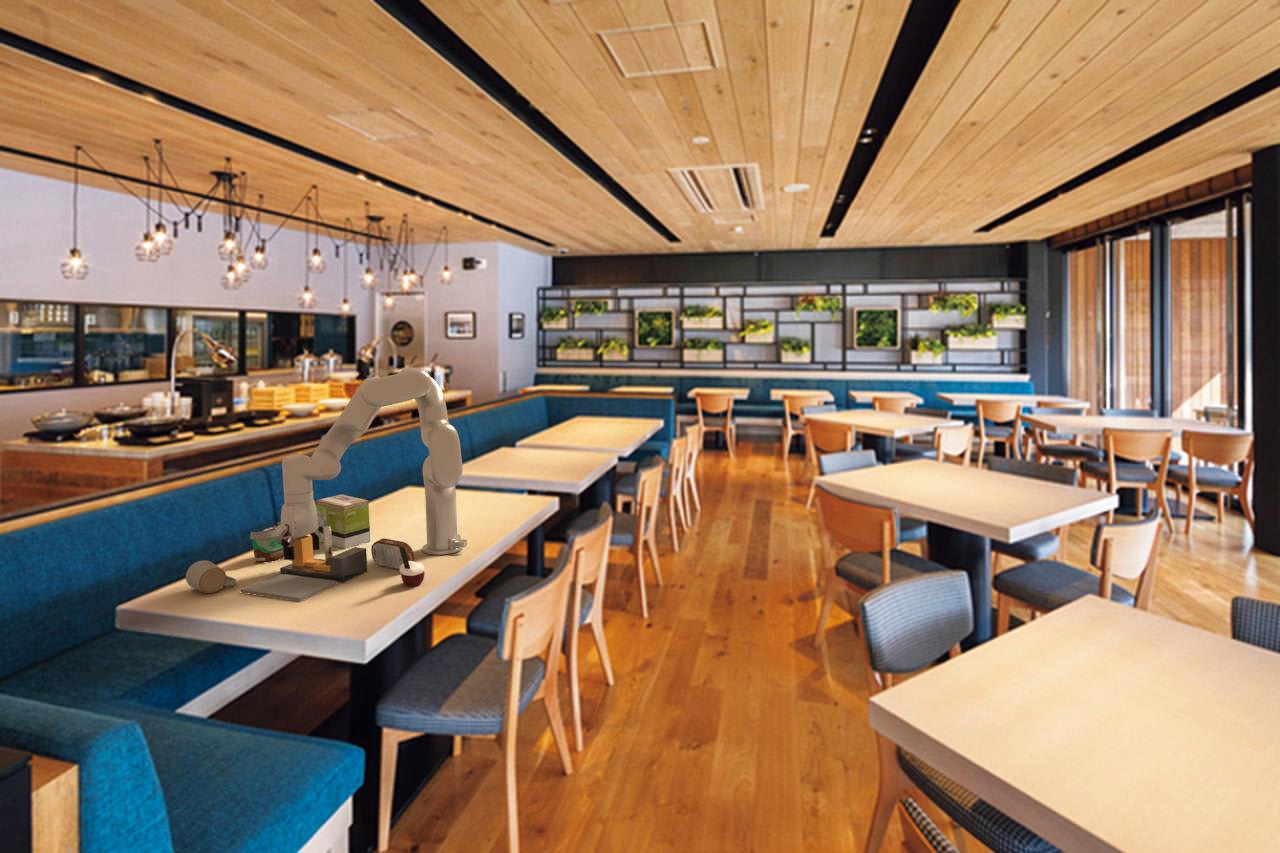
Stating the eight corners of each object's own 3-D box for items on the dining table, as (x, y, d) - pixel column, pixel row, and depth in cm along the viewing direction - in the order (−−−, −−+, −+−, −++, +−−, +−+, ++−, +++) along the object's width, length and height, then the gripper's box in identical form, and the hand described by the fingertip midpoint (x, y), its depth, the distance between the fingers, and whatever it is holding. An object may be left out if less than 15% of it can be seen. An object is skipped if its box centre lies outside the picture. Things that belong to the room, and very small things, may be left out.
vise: (367, 571, 200) (365, 525, 198) (343, 583, 190) (340, 534, 188) (306, 563, 206) (304, 519, 204) (280, 574, 197) (277, 527, 195)
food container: (269, 565, 204) (267, 533, 203) (251, 564, 206) (249, 532, 204) (297, 553, 216) (295, 522, 215) (280, 552, 218) (278, 521, 216)
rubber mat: (336, 584, 189) (336, 580, 189) (300, 601, 177) (300, 597, 177) (279, 576, 195) (278, 573, 195) (240, 592, 183) (240, 589, 183)
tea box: (317, 542, 228) (314, 499, 226) (344, 535, 237) (341, 493, 235) (345, 549, 220) (342, 505, 218) (371, 541, 229) (369, 499, 227)
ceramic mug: (200, 598, 179) (198, 569, 178) (186, 591, 184) (184, 563, 183) (242, 586, 188) (240, 559, 187) (227, 580, 192) (226, 554, 192)
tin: (415, 570, 201) (414, 542, 200) (408, 573, 198) (406, 545, 197) (378, 562, 208) (376, 536, 206) (370, 566, 205) (368, 538, 204)
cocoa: (418, 579, 195) (417, 537, 194) (432, 582, 191) (431, 540, 190) (389, 587, 187) (388, 544, 186) (404, 591, 183) (403, 547, 182)
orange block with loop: (345, 564, 199) (343, 538, 198) (330, 571, 194) (328, 544, 193) (305, 560, 204) (303, 534, 203) (289, 566, 198) (287, 539, 197)
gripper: (310, 490, 207) (314, 545, 209) (264, 503, 190) (268, 562, 193) (331, 492, 205) (334, 547, 207) (285, 505, 188) (289, 565, 190)
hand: (302, 554), depth 200 cm, fingers open, 9 cm apart
